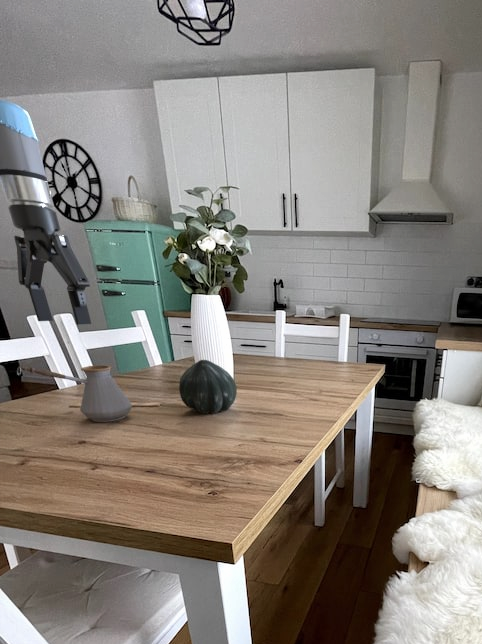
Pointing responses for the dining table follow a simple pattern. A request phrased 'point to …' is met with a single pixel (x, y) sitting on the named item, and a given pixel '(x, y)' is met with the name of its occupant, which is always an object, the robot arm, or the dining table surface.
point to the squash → (207, 387)
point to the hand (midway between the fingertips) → (64, 322)
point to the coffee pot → (96, 393)
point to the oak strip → (131, 403)
